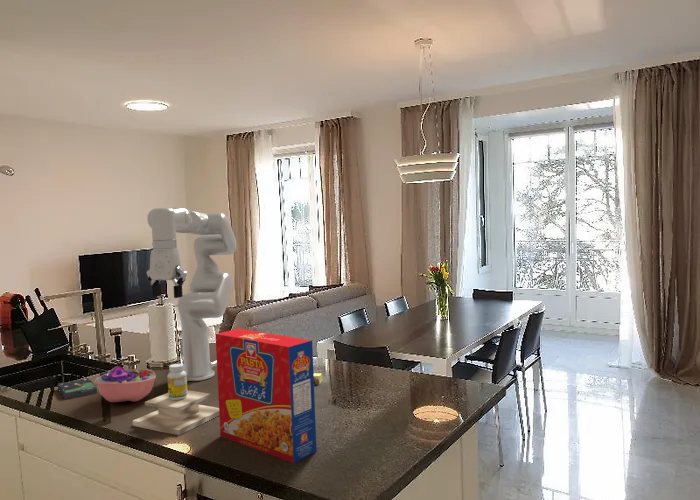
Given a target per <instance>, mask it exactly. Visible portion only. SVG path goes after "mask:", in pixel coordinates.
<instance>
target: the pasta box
mask: <svg viewBox="0 0 700 500" xmlns="http://www.w3.org/2000/svg"><path fill="white" fill-rule="evenodd" d="M214 336H215V351H216V353H215V355H216V356H215V357H216V361H217V366H216V374H217V375H216V376H217V390H218V391H217V393H218V395H217V396H218V408H219V416H218V417H219V431H220V432H219V433H220V434H219V435H220V437H221V436H222V438H224V437H225V438H224V439H226V438H228V439H227V440H229V439H230V441H232V440H233V442H235V441H236V442H235V443H237V442H238V444H240V443H241V444H240V445H243V444H244V445H243V446H245V445H246V447H248V446H249V448H251V449H254V450H257V451H259V452H262V453H265V454H268V455H271V456H273V457H276V458H279V459H281V460H283V461H287V462H289V463H292V464H295V463H296V462H299V461H301V460H303V459H304V458H306V457H309V456H311V455H312V454H314V453H316V452H317V449H318V448H317V431H316V428H317V426H316V406H315V405H316V403H315V402H316V401H315V399H316V398H315V384H314V373H315V372H314V354H313V353H314V352H313V351H314V350H313V339H312V340H311V339H306V338H300V337H293V336H286V335H282V334H275V333H270V332H269V333H268V332H263V331H256V330H251V329H245V328H235V329H231V330H227V331H223V332H219V333H215V335H214Z"/></svg>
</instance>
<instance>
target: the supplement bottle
mask: <svg viewBox="0 0 700 500" xmlns="http://www.w3.org/2000/svg"><path fill="white" fill-rule="evenodd" d="M168 369H169V372H168V374H167V376H166V379H167V393H168V397H169V399H171V400H181V399H184V398H186V397H187V390H188V381H187V376H186V372H185V371H184V363H173V364H170V365H169V366H168Z"/></svg>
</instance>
